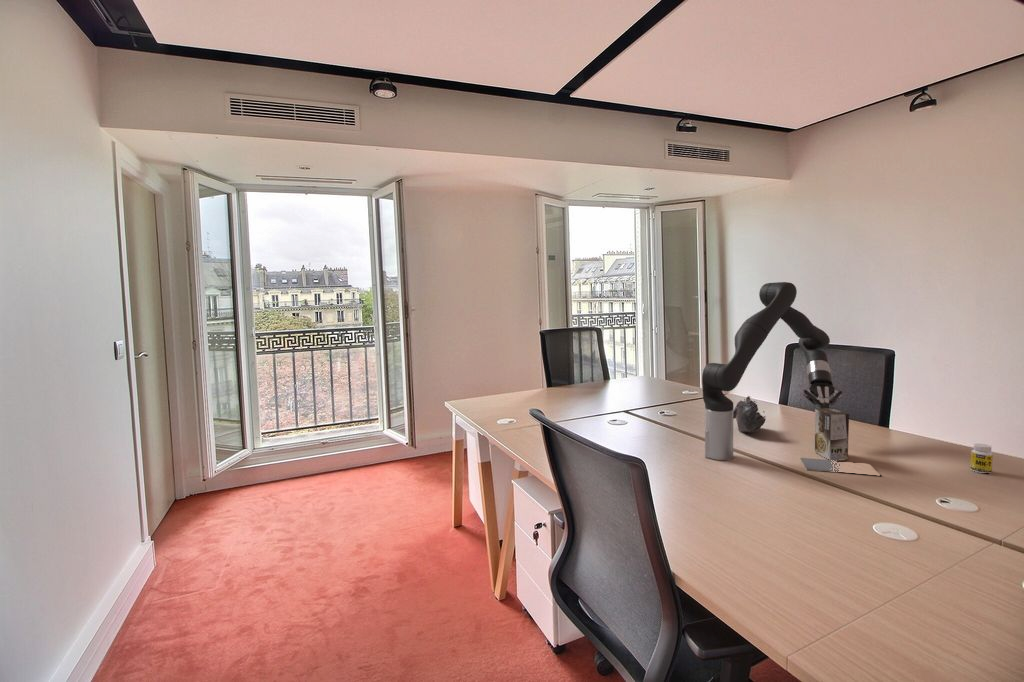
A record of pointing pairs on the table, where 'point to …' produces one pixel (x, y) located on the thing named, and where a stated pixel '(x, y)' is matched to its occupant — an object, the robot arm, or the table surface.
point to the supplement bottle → (981, 458)
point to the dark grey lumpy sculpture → (748, 416)
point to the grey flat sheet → (819, 464)
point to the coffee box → (831, 433)
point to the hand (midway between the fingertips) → (825, 413)
